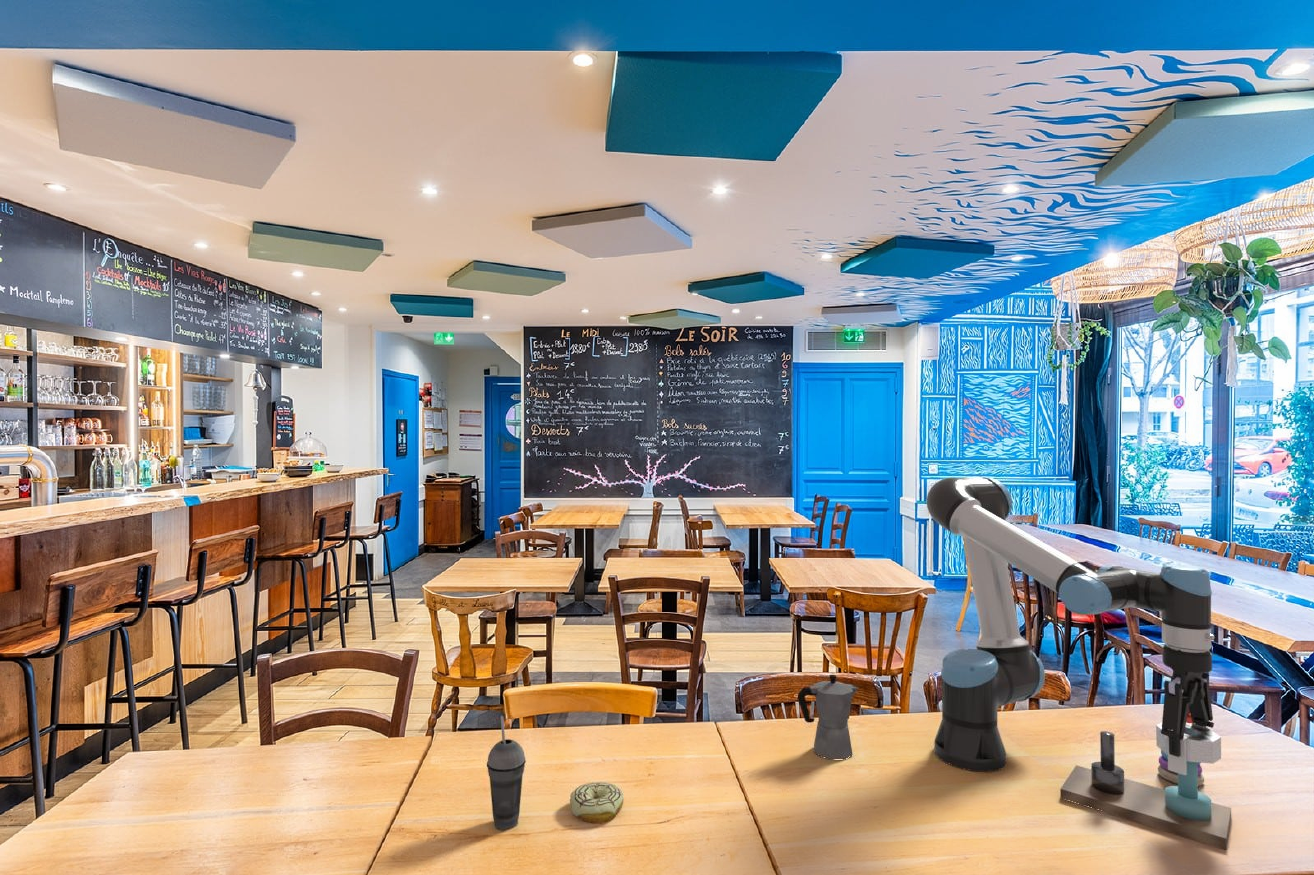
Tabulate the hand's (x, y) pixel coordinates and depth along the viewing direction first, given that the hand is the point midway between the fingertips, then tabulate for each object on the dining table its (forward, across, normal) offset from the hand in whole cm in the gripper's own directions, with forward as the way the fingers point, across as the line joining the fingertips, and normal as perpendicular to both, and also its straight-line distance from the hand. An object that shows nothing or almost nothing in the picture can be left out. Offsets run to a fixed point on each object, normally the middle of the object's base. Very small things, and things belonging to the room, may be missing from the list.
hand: (1188, 765), depth 131 cm
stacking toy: (+11, +19, +8) cm, 23 cm away
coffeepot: (+11, -36, +58) cm, 69 cm away
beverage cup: (+11, -110, +69) cm, 131 cm away
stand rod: (+9, -3, +13) cm, 16 cm away
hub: (+9, 0, 0) cm, 9 cm away
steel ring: (-3, 0, 0) cm, 3 cm away
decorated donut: (+11, -94, +64) cm, 114 cm away
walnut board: (+11, -2, +7) cm, 13 cm away
